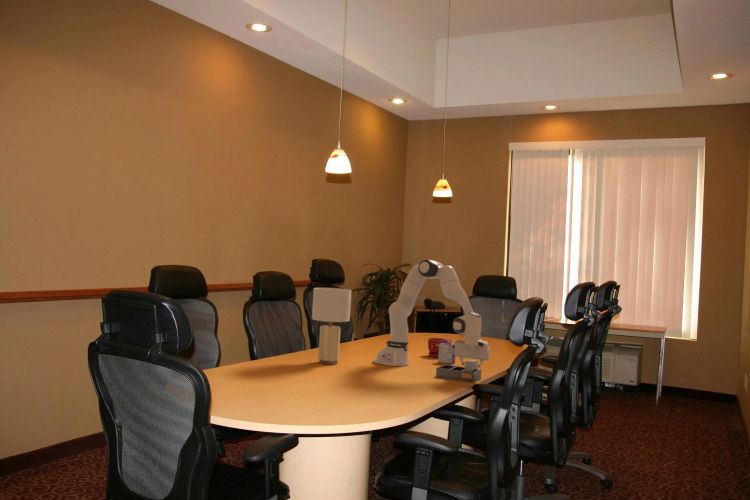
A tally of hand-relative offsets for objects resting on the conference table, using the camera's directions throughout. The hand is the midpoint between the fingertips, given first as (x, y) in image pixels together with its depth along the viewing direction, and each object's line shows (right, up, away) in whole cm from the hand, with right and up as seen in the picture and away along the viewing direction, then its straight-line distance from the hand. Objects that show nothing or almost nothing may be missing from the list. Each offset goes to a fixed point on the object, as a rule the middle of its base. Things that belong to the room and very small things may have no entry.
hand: (471, 366), depth 351 cm
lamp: (-82, -3, +24) cm, 86 cm away
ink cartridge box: (-8, -7, +50) cm, 51 cm away
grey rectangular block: (0, -6, 0) cm, 6 cm away
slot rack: (-7, -7, +3) cm, 10 cm away
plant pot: (-12, -7, +73) cm, 74 cm away
